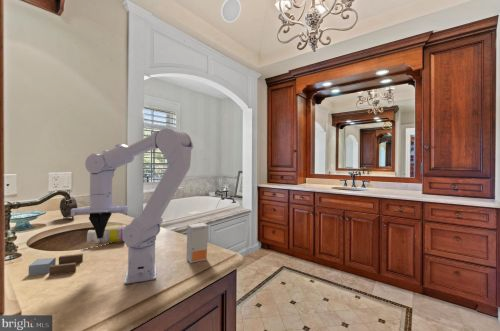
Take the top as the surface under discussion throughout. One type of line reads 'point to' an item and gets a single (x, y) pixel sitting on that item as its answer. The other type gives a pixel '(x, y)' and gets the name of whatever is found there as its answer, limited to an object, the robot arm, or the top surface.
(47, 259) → the block
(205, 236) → the skincare box
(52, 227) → the top surface
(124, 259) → the top surface
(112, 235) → the supplement bottle
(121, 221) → the top surface
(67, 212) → the alarm clock
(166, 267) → the top surface
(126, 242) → the robot arm
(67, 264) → the channel
